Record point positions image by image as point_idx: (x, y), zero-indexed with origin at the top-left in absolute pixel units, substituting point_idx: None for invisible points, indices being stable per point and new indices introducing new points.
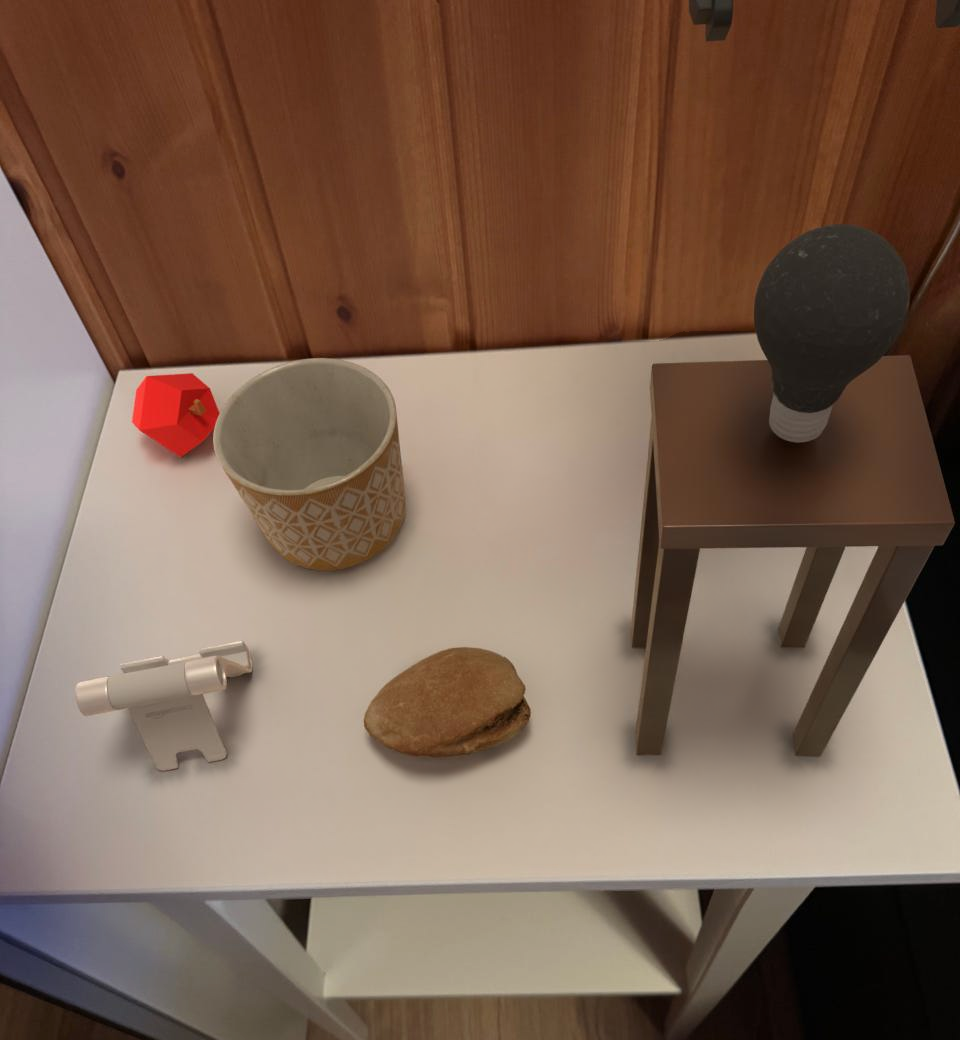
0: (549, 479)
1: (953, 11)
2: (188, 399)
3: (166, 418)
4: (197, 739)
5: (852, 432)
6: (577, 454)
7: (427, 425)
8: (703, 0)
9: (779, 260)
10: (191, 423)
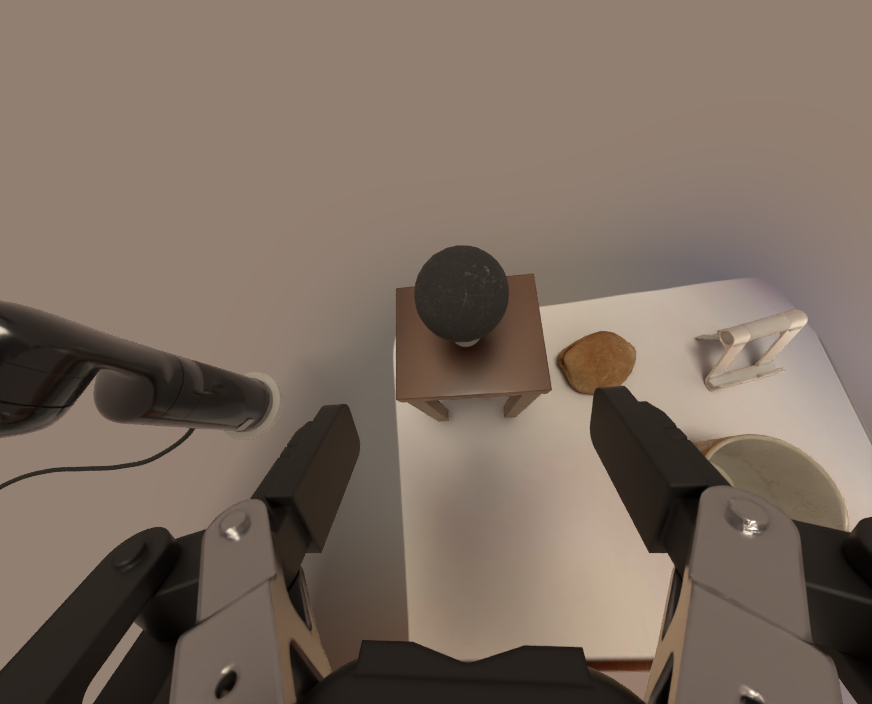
0: (572, 519)
1: (348, 408)
2: None
3: None
4: (716, 335)
5: (435, 339)
6: (558, 541)
7: (665, 573)
8: (645, 408)
9: (499, 283)
10: None
